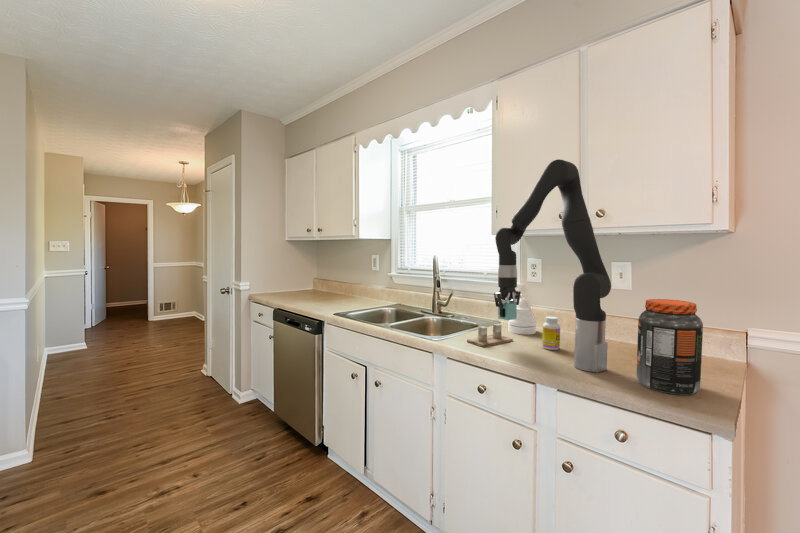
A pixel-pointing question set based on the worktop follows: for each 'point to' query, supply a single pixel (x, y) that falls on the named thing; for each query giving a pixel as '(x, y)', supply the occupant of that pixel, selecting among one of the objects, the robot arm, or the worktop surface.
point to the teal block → (509, 311)
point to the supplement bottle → (551, 334)
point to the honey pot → (523, 319)
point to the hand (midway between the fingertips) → (507, 316)
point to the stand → (489, 337)
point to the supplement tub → (670, 346)
